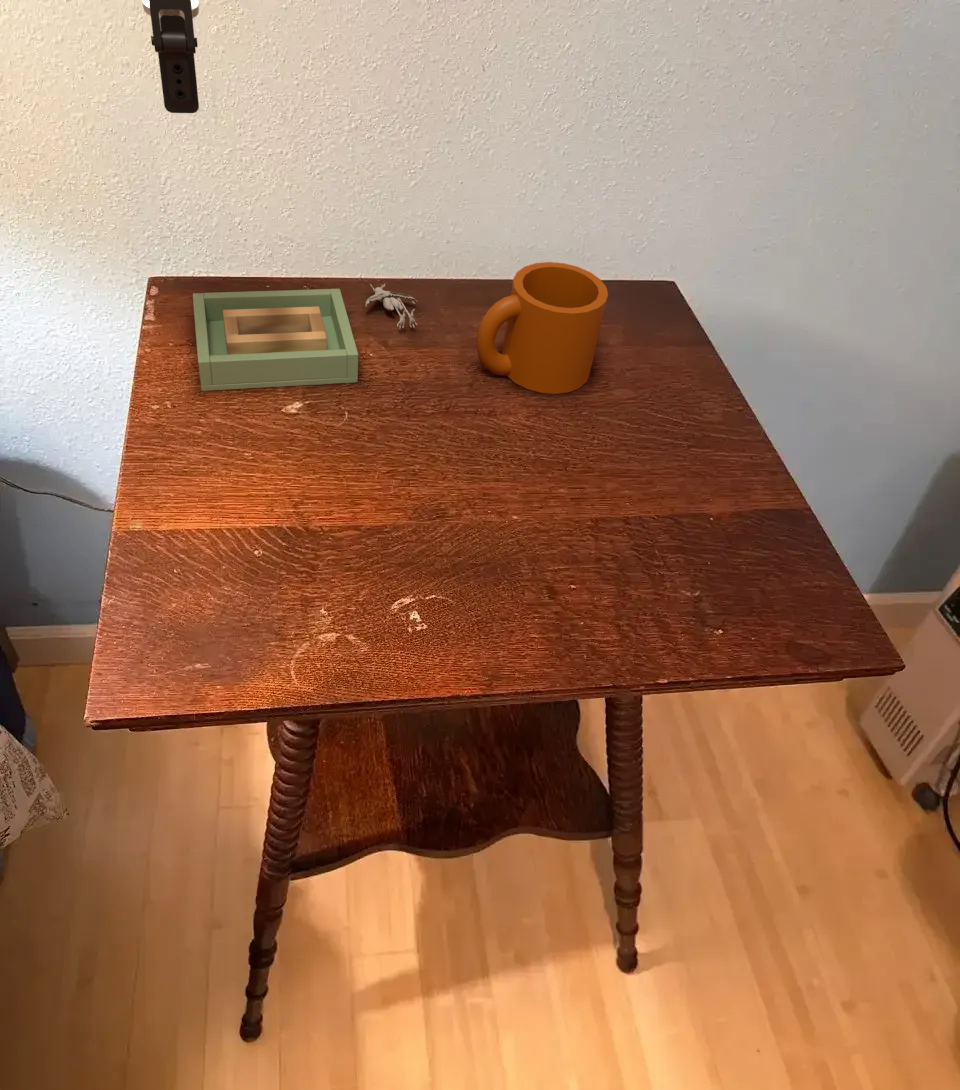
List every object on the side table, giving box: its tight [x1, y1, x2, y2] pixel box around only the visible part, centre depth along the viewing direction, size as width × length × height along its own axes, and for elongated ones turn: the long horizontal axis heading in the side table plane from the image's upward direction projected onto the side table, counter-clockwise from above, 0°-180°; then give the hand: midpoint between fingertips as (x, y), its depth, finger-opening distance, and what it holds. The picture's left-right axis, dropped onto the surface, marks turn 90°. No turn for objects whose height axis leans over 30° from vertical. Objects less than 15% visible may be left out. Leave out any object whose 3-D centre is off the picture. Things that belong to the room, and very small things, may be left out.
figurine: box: [365, 283, 418, 329], centre depth 96 cm, size 6×2×8 cm
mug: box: [475, 261, 609, 395], centre depth 89 cm, size 9×12×9 cm
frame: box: [223, 306, 327, 355], centre depth 89 cm, size 9×6×2 cm, turn 104°
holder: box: [192, 288, 359, 392], centre depth 89 cm, size 14×12×3 cm
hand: (180, 86), depth 66 cm, fingers open, 8 cm apart
